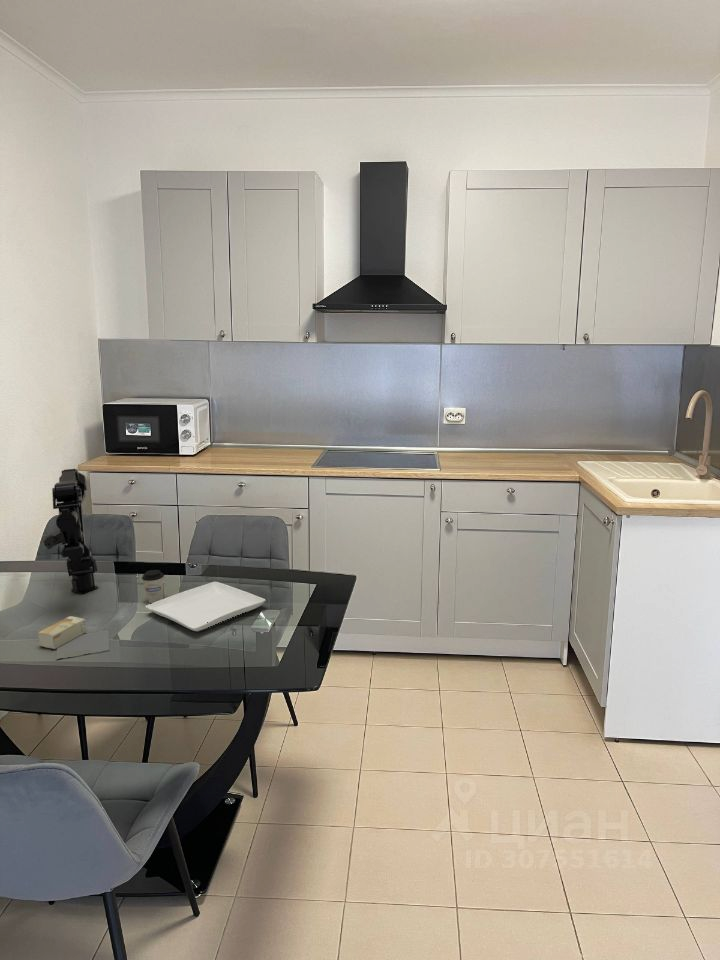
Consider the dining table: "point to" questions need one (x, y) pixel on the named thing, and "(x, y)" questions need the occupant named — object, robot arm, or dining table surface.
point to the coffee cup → (153, 585)
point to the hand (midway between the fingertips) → (76, 569)
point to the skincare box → (61, 632)
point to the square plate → (206, 605)
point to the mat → (88, 642)
